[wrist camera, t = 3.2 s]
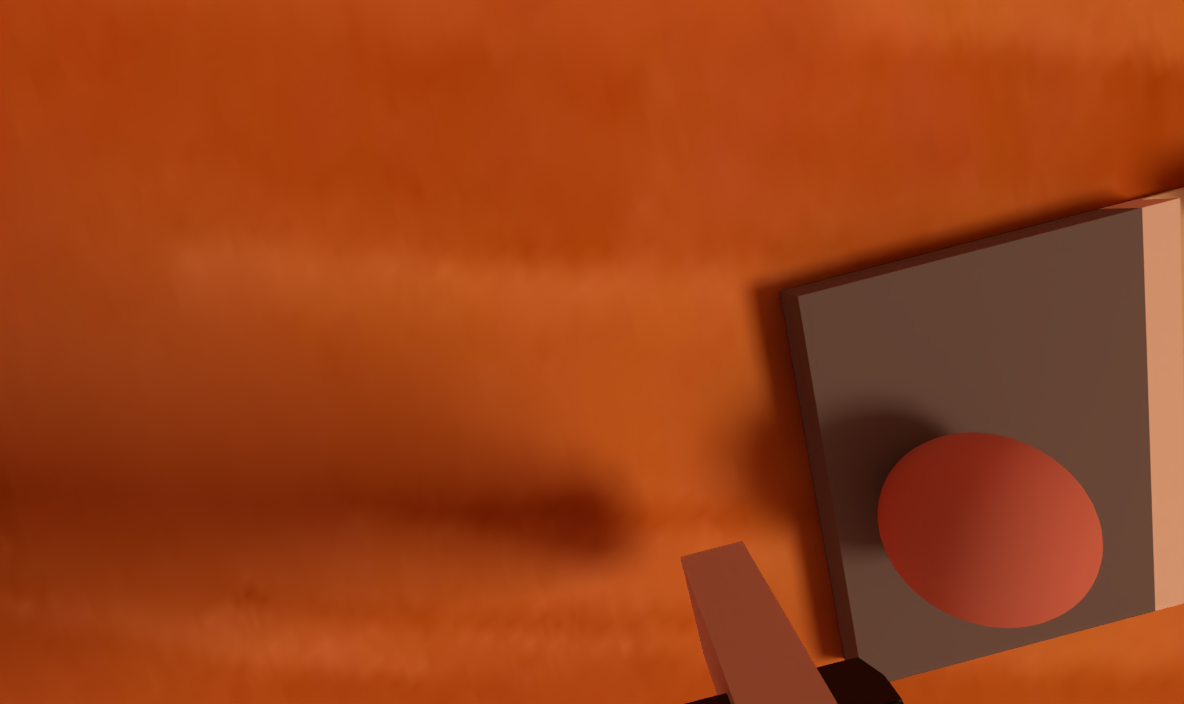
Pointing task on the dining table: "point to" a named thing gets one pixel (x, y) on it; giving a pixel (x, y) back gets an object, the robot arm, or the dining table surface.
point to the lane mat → (1002, 408)
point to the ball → (990, 530)
